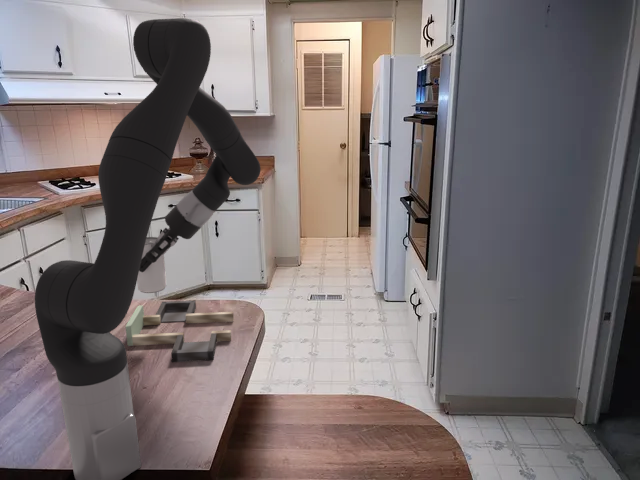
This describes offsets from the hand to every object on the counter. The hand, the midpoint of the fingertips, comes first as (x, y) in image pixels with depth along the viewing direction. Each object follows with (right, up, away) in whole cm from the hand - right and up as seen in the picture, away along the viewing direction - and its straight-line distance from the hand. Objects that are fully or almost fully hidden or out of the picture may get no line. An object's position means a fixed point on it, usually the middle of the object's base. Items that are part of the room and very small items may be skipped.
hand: (142, 264), depth 106 cm
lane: (+9, -17, +6) cm, 20 cm away
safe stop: (-3, -17, +5) cm, 18 cm away
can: (+2, -6, +2) cm, 7 cm away
